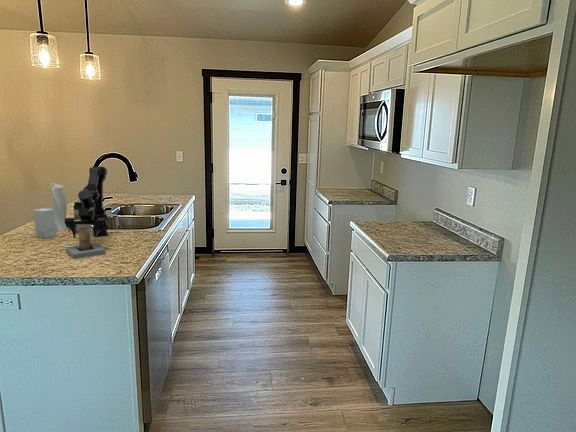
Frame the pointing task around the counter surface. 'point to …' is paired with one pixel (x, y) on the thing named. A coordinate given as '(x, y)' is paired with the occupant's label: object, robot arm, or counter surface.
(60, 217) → the skyscraper
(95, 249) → the frame
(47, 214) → the skincare box
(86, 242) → the walnut peg
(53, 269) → the counter surface
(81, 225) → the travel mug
